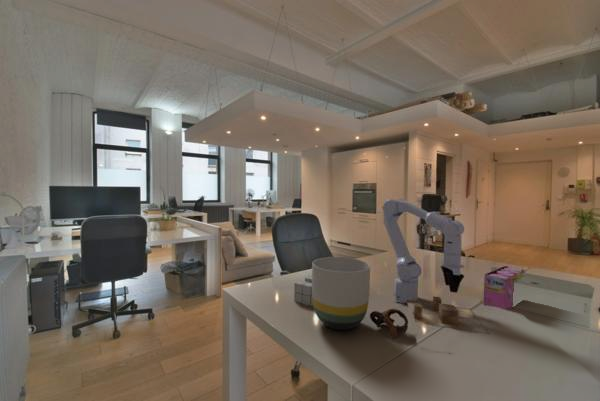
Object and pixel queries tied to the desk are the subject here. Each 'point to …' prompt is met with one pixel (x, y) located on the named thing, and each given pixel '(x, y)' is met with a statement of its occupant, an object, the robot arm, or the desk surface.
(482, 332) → the tray board
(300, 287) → the puzzle cube
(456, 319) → the walnut block
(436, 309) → the back strip
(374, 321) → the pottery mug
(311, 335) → the desk surface
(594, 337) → the desk surface
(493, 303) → the gum box
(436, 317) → the brown angular piece
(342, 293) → the planter
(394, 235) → the robot arm
